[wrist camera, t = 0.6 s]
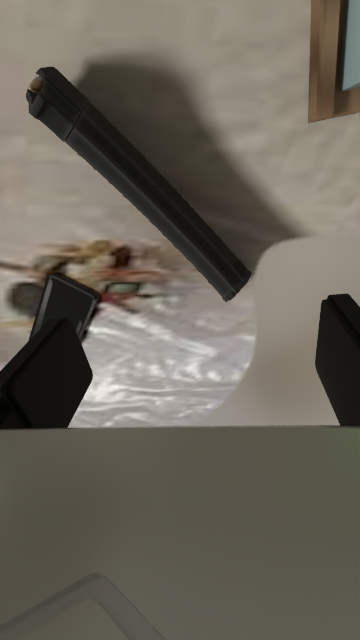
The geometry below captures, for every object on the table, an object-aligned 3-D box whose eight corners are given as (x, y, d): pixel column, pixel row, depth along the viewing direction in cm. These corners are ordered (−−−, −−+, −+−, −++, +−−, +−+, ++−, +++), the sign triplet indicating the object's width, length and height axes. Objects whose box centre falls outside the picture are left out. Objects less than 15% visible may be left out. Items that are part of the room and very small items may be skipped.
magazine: (273, 313, 33) (-10, 67, 17) (250, 329, 34) (-31, 116, 18) (236, 241, 45) (54, 62, 30) (220, 255, 47) (39, 91, 31)
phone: (27, 344, 50) (48, 272, 42) (31, 340, 51) (52, 269, 43) (70, 363, 51) (98, 297, 43) (73, 359, 52) (100, 294, 44)
